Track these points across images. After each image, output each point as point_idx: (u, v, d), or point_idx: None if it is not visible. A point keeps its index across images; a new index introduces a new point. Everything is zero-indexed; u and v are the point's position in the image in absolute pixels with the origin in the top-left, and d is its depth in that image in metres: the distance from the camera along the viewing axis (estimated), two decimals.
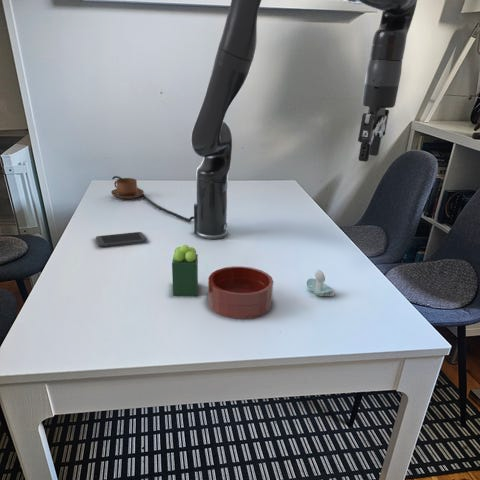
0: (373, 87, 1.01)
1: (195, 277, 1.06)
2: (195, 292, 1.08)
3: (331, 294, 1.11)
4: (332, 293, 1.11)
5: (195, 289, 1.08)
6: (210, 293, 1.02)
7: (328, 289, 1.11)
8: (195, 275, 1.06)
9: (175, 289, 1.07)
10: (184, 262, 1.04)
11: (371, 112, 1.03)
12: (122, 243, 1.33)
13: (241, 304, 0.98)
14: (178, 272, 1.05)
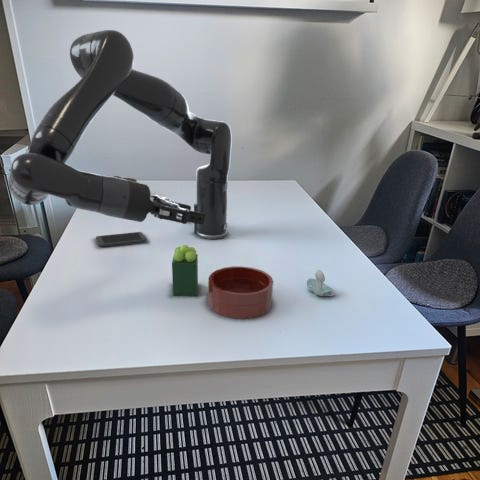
0: None
1: (195, 277, 1.06)
2: (195, 292, 1.08)
3: (331, 294, 1.11)
4: (332, 293, 1.11)
5: (195, 289, 1.08)
6: (210, 293, 1.02)
7: (328, 289, 1.11)
8: (195, 275, 1.06)
9: (175, 289, 1.07)
10: (184, 262, 1.04)
11: None
12: (122, 243, 1.33)
13: (241, 304, 0.98)
14: (178, 272, 1.05)
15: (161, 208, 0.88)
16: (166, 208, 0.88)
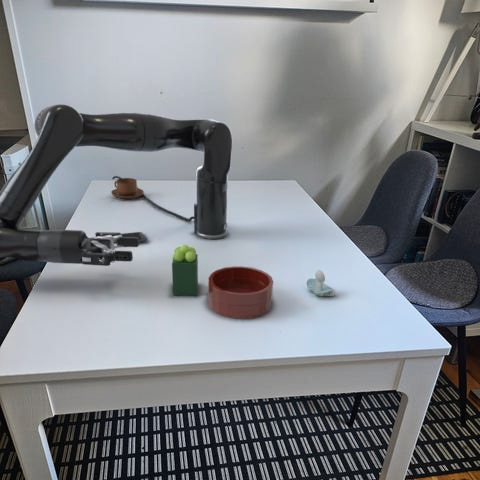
0: None
1: (195, 277, 1.06)
2: (195, 292, 1.08)
3: (331, 294, 1.11)
4: (332, 293, 1.11)
5: (195, 289, 1.08)
6: (210, 293, 1.02)
7: (328, 289, 1.11)
8: (195, 275, 1.06)
9: (175, 289, 1.07)
10: (184, 262, 1.04)
11: None
12: None
13: (241, 304, 0.98)
14: (178, 272, 1.05)
15: (82, 256, 0.98)
16: (85, 255, 0.98)
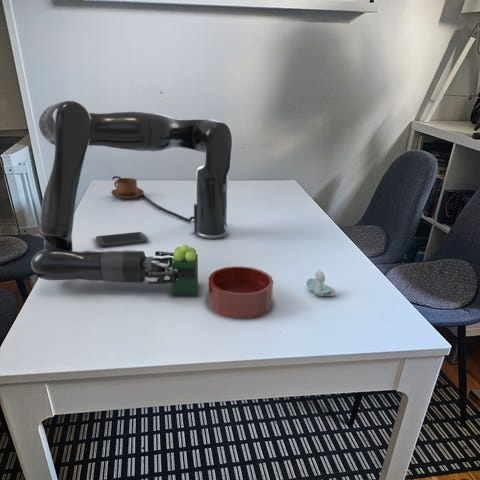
0: None
1: (195, 277, 1.06)
2: (195, 292, 1.08)
3: (331, 294, 1.11)
4: (332, 293, 1.11)
5: (195, 289, 1.08)
6: (210, 293, 1.02)
7: (328, 289, 1.11)
8: None
9: (175, 289, 1.07)
10: (184, 262, 1.04)
11: None
12: (122, 243, 1.33)
13: (241, 304, 0.98)
14: None
15: (149, 276, 1.01)
16: (153, 275, 1.01)
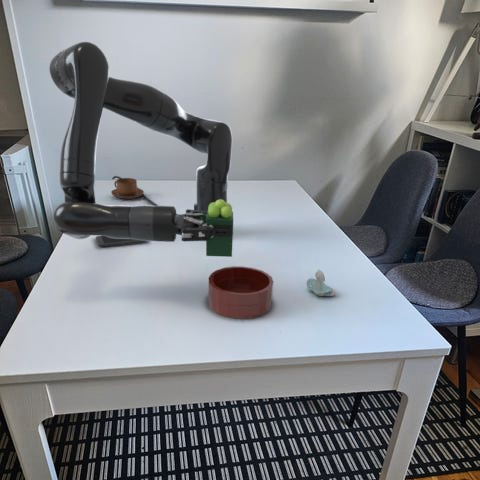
0: None
1: (231, 235, 0.97)
2: (230, 252, 0.99)
3: (331, 294, 1.11)
4: (332, 293, 1.11)
5: (230, 249, 0.99)
6: (210, 293, 1.02)
7: (328, 289, 1.11)
8: None
9: (209, 249, 0.99)
10: (220, 218, 0.95)
11: None
12: (122, 243, 1.33)
13: (241, 304, 0.98)
14: None
15: (182, 232, 0.92)
16: (187, 231, 0.92)
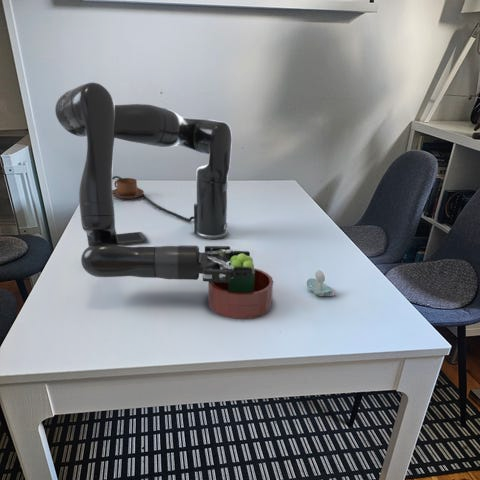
0: None
1: (252, 287, 1.01)
2: None
3: (331, 294, 1.11)
4: (332, 293, 1.11)
5: None
6: (210, 293, 1.02)
7: (328, 289, 1.11)
8: (252, 285, 1.01)
9: None
10: None
11: None
12: (122, 243, 1.33)
13: (241, 304, 0.98)
14: (235, 282, 1.00)
15: (203, 272, 0.95)
16: (207, 272, 0.95)
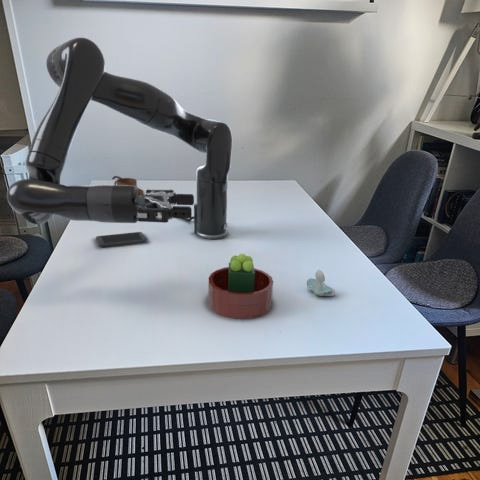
0: None
1: (252, 287, 1.01)
2: None
3: (331, 294, 1.11)
4: (332, 293, 1.11)
5: None
6: (210, 293, 1.02)
7: (328, 289, 1.11)
8: (252, 285, 1.01)
9: None
10: (242, 272, 1.00)
11: None
12: (122, 243, 1.33)
13: (241, 304, 0.98)
14: (235, 282, 1.00)
15: (137, 211, 0.88)
16: (142, 210, 0.88)
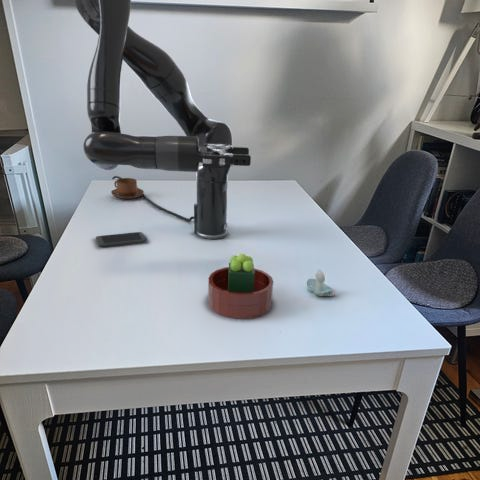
0: None
1: (252, 287, 1.01)
2: None
3: (331, 294, 1.11)
4: (332, 293, 1.11)
5: None
6: (210, 293, 1.02)
7: (328, 289, 1.11)
8: (252, 285, 1.01)
9: None
10: (242, 272, 1.00)
11: None
12: (122, 243, 1.33)
13: (241, 304, 0.98)
14: (235, 282, 1.00)
15: (203, 157, 0.97)
16: (207, 156, 0.97)
